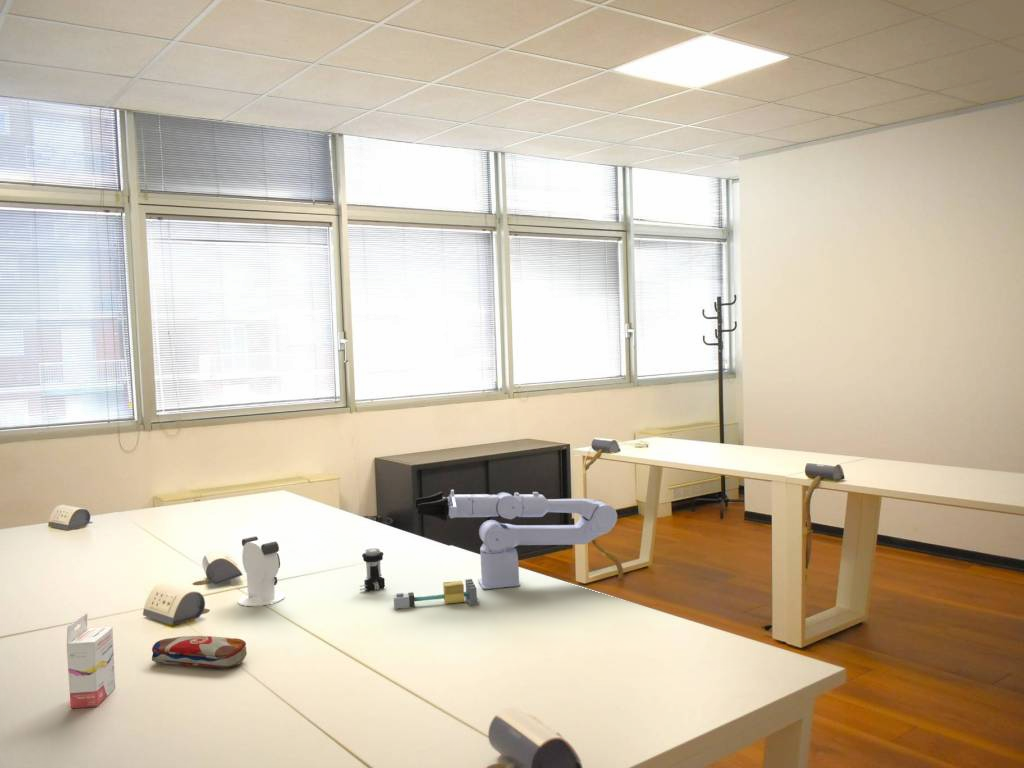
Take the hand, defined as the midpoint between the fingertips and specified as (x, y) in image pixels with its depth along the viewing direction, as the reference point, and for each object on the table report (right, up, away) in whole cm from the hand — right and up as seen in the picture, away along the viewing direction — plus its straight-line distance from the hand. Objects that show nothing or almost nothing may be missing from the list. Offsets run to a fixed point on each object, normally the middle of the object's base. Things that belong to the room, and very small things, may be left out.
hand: (416, 506), depth 209 cm
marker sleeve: (+10, -22, -8) cm, 25 cm away
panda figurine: (-38, -24, 0) cm, 45 cm away
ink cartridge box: (-52, -27, -56) cm, 81 cm away
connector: (-2, -22, -11) cm, 25 cm away
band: (0, -22, -10) cm, 24 cm away
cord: (+6, -22, -9) cm, 24 cm away
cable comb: (+14, -21, -8) cm, 27 cm away
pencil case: (-39, -26, -41) cm, 62 cm away
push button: (-12, -22, +5) cm, 26 cm away
